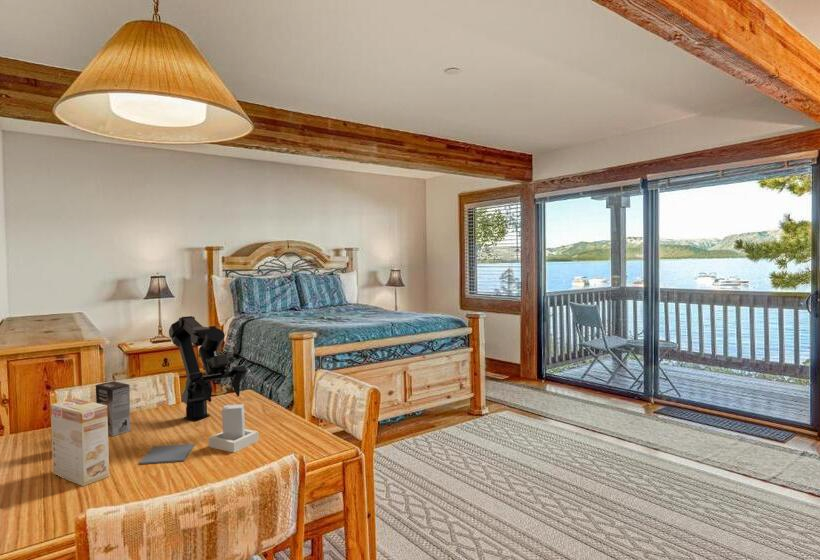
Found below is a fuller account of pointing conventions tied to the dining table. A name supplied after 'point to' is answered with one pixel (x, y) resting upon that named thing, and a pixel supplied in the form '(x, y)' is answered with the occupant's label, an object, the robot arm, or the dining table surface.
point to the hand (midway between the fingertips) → (224, 398)
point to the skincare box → (233, 421)
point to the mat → (167, 454)
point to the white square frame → (230, 445)
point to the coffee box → (115, 405)
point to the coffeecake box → (80, 441)
